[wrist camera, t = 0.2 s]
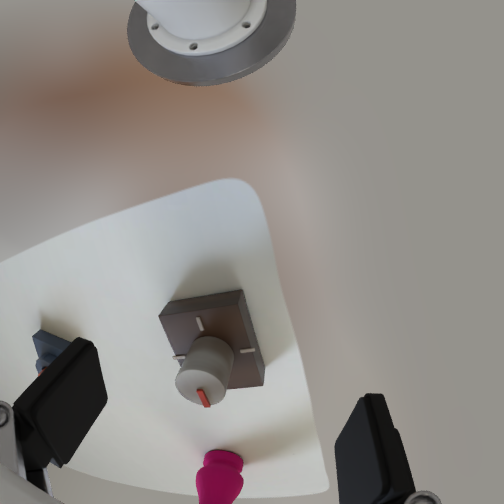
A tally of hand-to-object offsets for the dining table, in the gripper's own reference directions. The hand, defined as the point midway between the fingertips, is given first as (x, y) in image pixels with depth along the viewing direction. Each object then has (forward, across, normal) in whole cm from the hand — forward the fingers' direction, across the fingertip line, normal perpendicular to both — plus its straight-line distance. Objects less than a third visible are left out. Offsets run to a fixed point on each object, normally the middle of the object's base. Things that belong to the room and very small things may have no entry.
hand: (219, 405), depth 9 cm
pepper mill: (+19, 0, +36) cm, 41 cm away
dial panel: (+19, +3, +11) cm, 22 cm away
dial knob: (+16, +3, +11) cm, 19 cm away
